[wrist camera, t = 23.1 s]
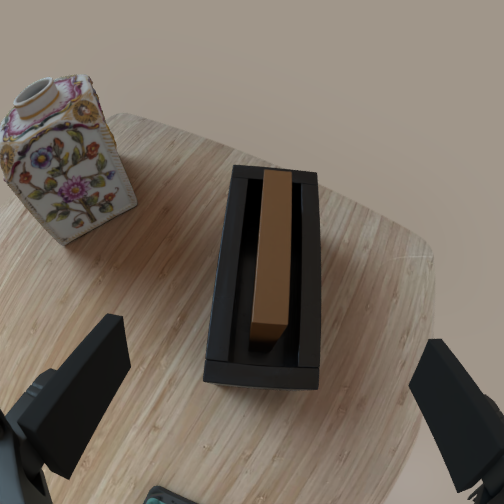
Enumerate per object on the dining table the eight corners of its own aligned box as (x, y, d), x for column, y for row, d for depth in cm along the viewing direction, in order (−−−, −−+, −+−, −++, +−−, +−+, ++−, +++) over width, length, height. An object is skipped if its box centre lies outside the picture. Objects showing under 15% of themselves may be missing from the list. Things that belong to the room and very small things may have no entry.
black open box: (295, 390, 26) (318, 389, 18) (215, 384, 26) (202, 381, 18) (301, 225, 34) (317, 172, 26) (235, 219, 34) (233, 164, 26)
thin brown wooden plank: (270, 352, 26) (288, 325, 16) (248, 350, 26) (251, 322, 16) (276, 246, 31) (292, 171, 21) (257, 244, 31) (264, 169, 21)
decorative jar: (61, 250, 31) (-23, 152, 15) (50, 189, 36) (-7, 97, 20) (142, 205, 34) (93, 80, 18) (119, 151, 39) (82, 46, 23)
